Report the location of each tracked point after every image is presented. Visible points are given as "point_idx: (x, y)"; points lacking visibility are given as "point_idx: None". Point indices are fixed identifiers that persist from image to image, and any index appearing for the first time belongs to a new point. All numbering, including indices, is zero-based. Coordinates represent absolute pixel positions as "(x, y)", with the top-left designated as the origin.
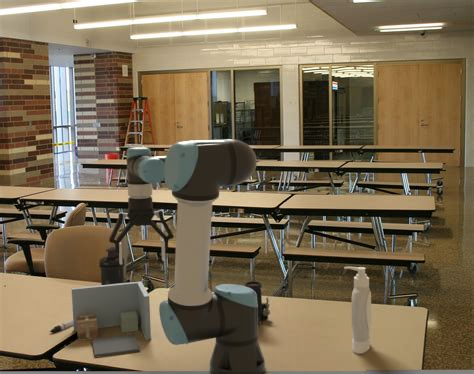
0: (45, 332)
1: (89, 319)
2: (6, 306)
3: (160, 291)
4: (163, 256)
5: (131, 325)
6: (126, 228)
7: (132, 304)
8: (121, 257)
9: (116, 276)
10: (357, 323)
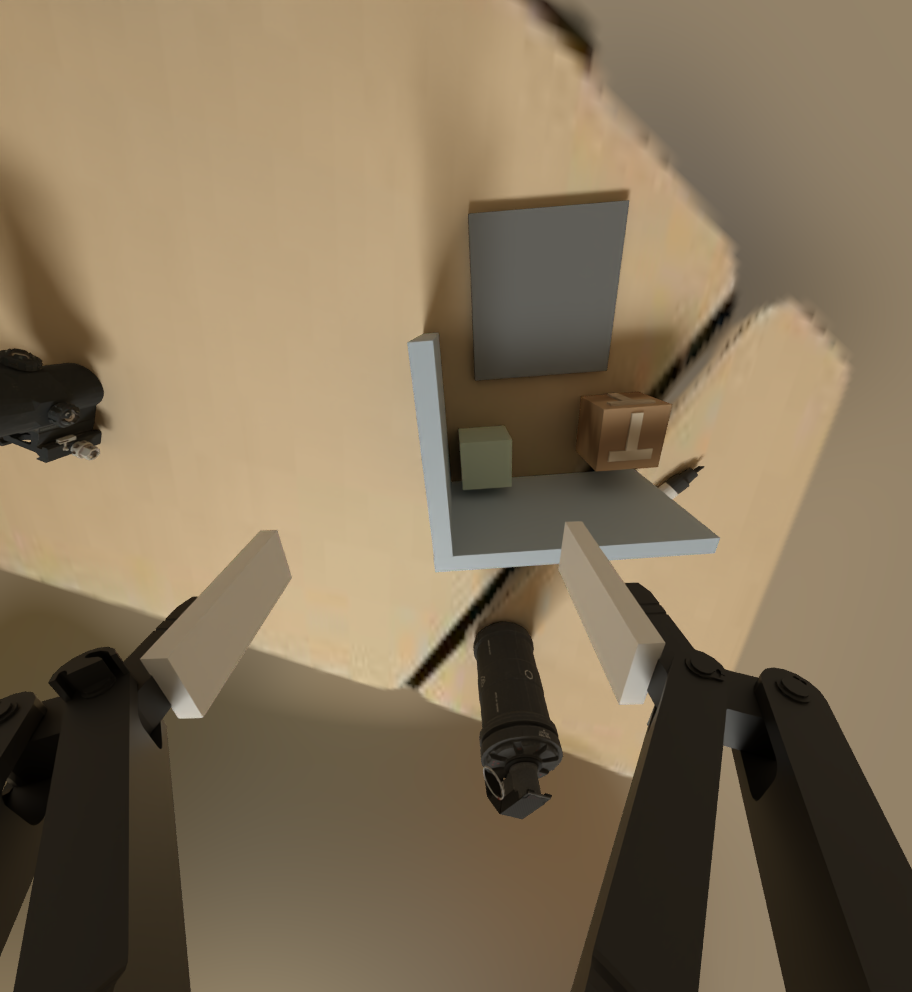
0: (705, 478)
1: (627, 421)
2: (735, 655)
3: (388, 673)
4: (253, 550)
5: (478, 432)
6: (690, 946)
7: (471, 509)
8: (588, 552)
9: (504, 690)
10: None
